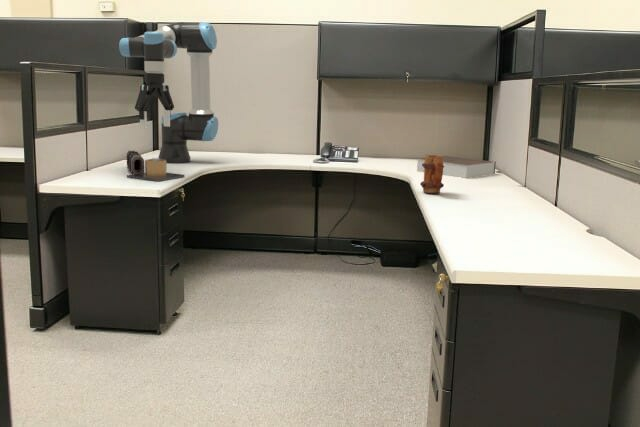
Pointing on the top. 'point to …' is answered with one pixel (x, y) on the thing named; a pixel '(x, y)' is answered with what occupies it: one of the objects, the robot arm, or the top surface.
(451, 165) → the book
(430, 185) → the mug
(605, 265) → the top surface
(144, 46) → the robot arm
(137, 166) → the tube
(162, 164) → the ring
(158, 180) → the dark piece
